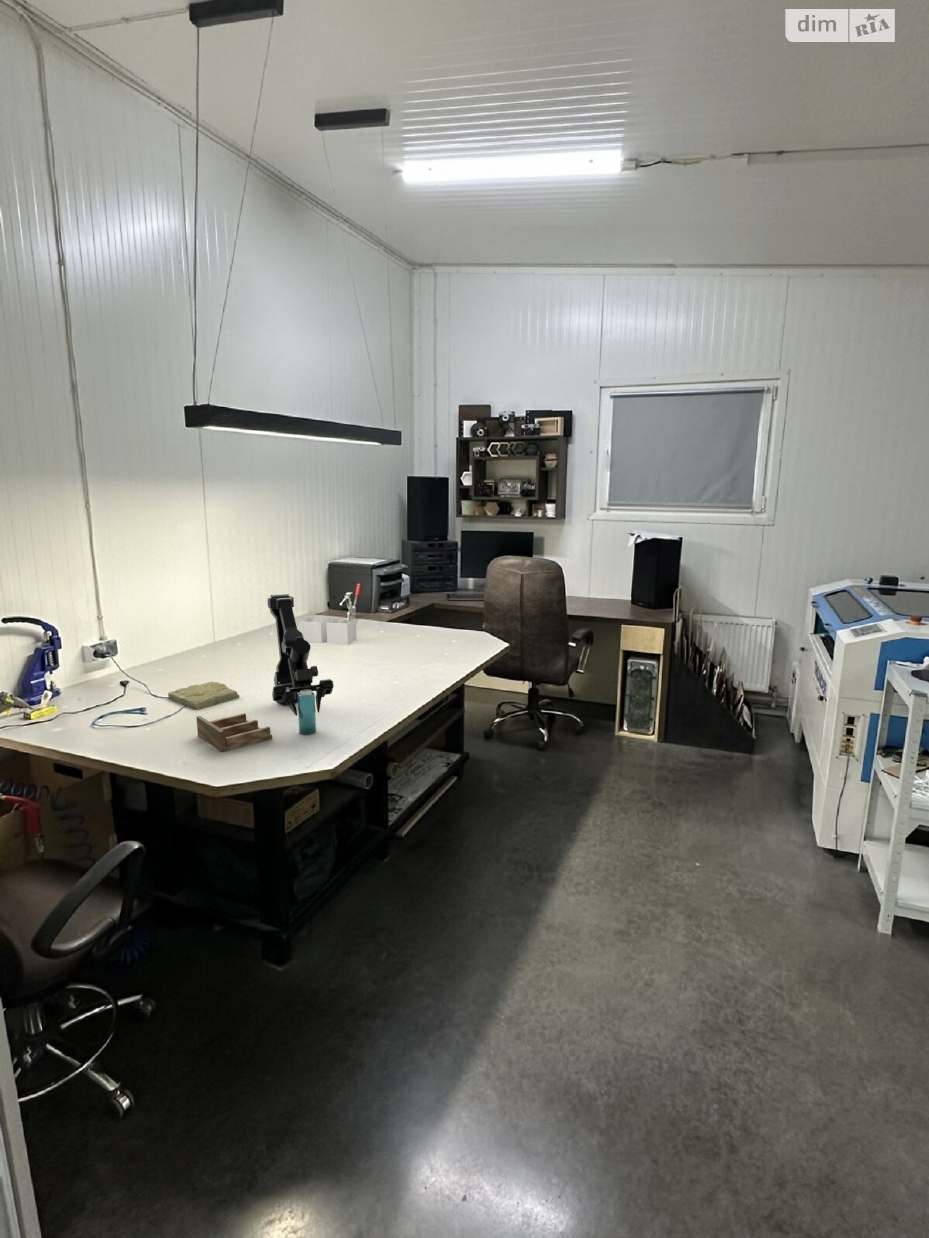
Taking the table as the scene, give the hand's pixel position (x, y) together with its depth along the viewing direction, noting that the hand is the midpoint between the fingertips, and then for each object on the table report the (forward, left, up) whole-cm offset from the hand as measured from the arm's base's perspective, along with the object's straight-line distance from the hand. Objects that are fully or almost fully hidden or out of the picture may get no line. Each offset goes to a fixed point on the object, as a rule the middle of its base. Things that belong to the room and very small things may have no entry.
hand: (307, 713), depth 211 cm
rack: (+19, -13, -7) cm, 23 cm away
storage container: (-72, -107, -7) cm, 129 cm away
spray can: (0, -1, -7) cm, 7 cm away
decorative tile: (+10, -58, -7) cm, 59 cm away
